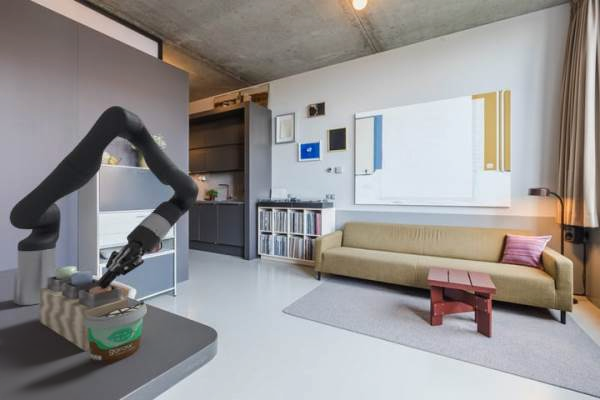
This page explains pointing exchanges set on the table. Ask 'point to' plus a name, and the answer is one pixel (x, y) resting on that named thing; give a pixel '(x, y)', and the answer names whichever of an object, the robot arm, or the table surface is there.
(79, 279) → the slate button
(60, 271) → the sage button
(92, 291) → the peach rounded knob
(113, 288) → the button console
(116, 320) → the food container
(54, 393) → the table surface
